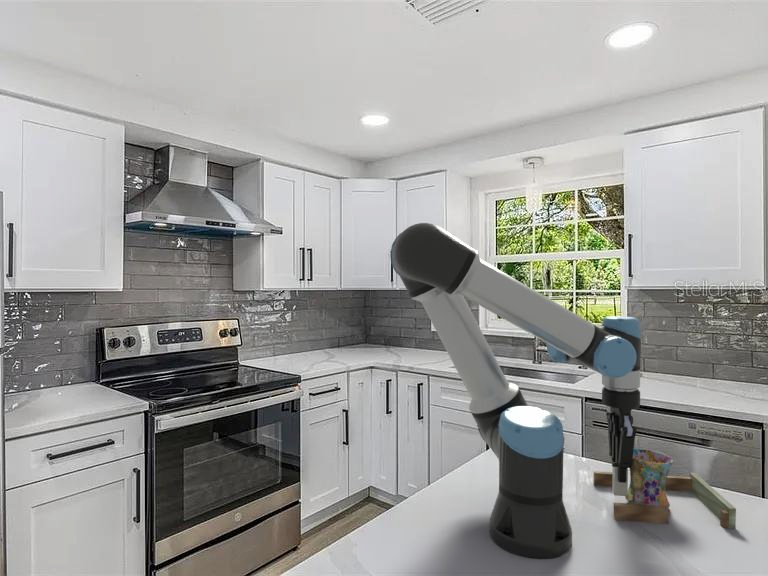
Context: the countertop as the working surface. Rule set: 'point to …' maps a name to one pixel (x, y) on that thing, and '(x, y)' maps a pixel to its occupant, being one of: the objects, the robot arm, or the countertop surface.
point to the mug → (649, 478)
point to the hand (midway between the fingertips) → (619, 494)
